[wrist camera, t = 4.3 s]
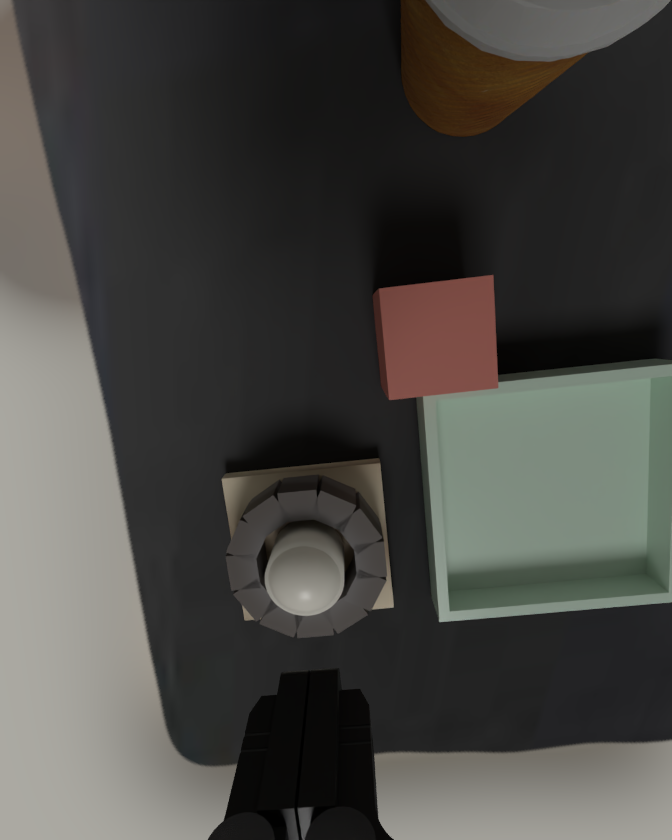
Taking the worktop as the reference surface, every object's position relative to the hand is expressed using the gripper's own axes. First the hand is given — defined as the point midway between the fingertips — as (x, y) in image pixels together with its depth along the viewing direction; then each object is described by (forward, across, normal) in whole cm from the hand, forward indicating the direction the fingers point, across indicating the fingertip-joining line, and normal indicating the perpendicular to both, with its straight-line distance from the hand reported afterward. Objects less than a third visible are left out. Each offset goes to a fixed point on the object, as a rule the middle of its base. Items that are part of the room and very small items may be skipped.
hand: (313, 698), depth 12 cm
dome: (+14, +1, +3) cm, 14 cm away
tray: (+16, -12, +1) cm, 20 cm away
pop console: (+16, +2, +3) cm, 16 cm away
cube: (+16, -6, -8) cm, 19 cm away
